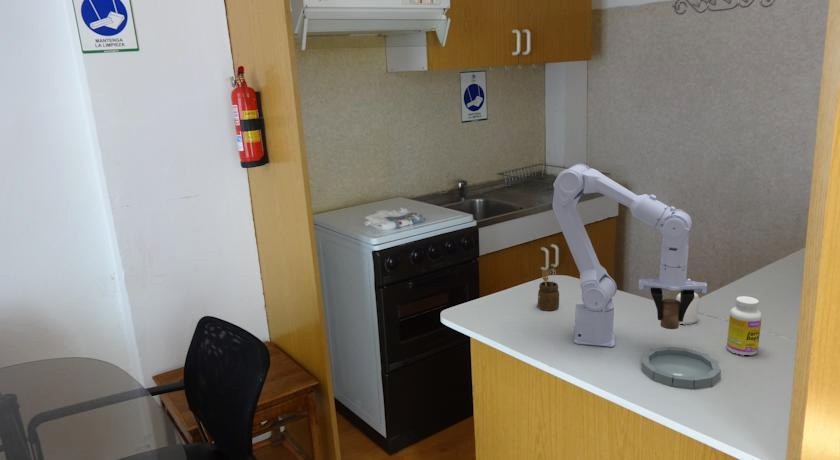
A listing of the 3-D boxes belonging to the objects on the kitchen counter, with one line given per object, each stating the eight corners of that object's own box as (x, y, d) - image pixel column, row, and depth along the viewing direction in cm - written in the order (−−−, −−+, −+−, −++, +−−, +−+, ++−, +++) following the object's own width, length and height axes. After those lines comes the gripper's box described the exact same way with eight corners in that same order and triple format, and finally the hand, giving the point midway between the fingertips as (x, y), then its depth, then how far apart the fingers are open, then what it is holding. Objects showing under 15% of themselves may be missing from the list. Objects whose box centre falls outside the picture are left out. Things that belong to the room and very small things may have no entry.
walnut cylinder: (661, 328, 149) (662, 304, 147) (659, 321, 152) (661, 298, 151) (679, 329, 148) (681, 305, 146) (677, 323, 151) (679, 299, 150)
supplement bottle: (745, 359, 147) (750, 307, 144) (720, 348, 153) (725, 298, 150) (764, 352, 150) (769, 301, 147) (738, 342, 156) (743, 292, 153)
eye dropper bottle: (698, 326, 166) (701, 282, 163) (675, 324, 167) (678, 281, 164) (696, 319, 170) (699, 277, 167) (673, 318, 171) (676, 275, 168)
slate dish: (643, 383, 138) (643, 375, 137) (640, 351, 152) (640, 344, 152) (724, 392, 133) (725, 383, 133) (713, 358, 148) (714, 350, 147)
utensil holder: (562, 305, 182) (563, 265, 179) (554, 313, 177) (554, 272, 174) (542, 302, 186) (543, 262, 183) (534, 309, 180) (534, 269, 177)
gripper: (641, 267, 144) (638, 323, 148) (710, 271, 140) (706, 328, 144) (639, 258, 151) (636, 312, 154) (706, 261, 147) (701, 316, 150)
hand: (669, 319), depth 150 cm, fingers closed on walnut cylinder, 4 cm apart
